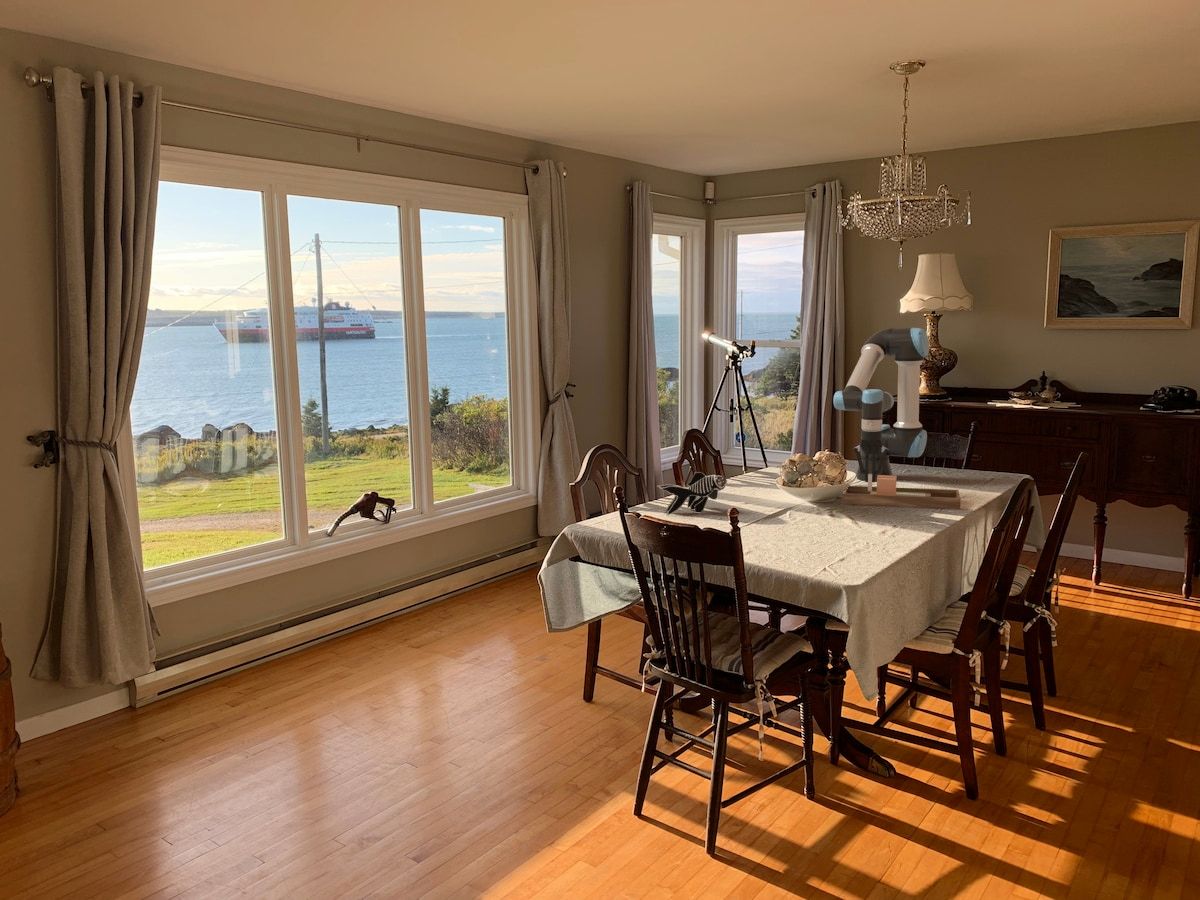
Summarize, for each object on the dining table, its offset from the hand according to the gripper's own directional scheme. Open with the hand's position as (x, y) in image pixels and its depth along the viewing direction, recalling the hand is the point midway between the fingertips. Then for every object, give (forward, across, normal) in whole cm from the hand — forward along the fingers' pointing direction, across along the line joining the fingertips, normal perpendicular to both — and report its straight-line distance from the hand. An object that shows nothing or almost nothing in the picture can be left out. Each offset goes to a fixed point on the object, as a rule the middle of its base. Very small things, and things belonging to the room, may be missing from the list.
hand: (869, 490), depth 347 cm
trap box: (+4, +11, 0) cm, 12 cm away
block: (+2, +6, 0) cm, 6 cm away
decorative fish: (+5, -62, -34) cm, 70 cm away
